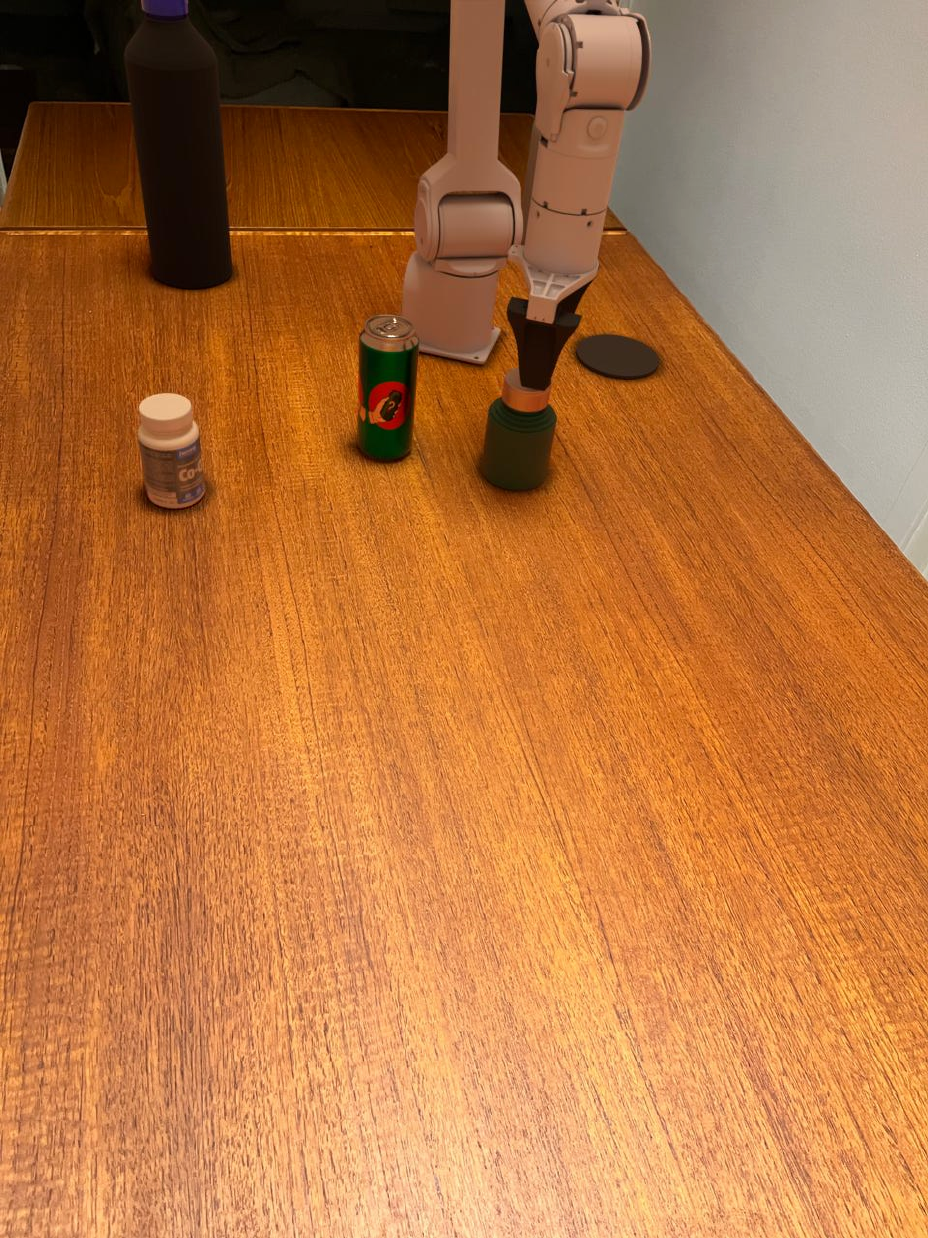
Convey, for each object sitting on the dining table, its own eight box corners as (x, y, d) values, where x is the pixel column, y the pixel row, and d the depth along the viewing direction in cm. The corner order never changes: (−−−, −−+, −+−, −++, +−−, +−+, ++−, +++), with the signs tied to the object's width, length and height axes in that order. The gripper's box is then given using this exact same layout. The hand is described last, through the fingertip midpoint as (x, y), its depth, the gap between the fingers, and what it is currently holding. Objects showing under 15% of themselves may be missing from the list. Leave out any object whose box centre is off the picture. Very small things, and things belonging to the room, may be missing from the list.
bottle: (248, 271, 112) (231, -13, 93) (194, 296, 106) (164, 0, 87) (191, 248, 115) (163, -32, 95) (135, 272, 109) (93, -21, 90)
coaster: (569, 368, 103) (569, 365, 102) (583, 330, 109) (583, 327, 109) (653, 386, 102) (654, 383, 101) (662, 347, 108) (663, 344, 108)
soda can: (423, 449, 89) (432, 329, 81) (383, 470, 86) (389, 347, 78) (385, 425, 92) (390, 306, 83) (345, 445, 89) (346, 323, 80)
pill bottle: (192, 514, 79) (181, 427, 74) (137, 503, 80) (122, 415, 74) (214, 482, 83) (205, 395, 77) (161, 471, 83) (149, 384, 77)
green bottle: (473, 481, 86) (484, 392, 80) (489, 446, 91) (501, 359, 85) (539, 497, 86) (555, 408, 80) (552, 460, 90) (568, 373, 84)
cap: (497, 406, 82) (499, 385, 81) (507, 383, 85) (510, 363, 83) (543, 416, 81) (546, 395, 80) (552, 393, 84) (555, 372, 83)
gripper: (535, 159, 78) (513, 317, 87) (496, 225, 68) (476, 397, 77) (622, 175, 77) (590, 333, 86) (595, 244, 67) (563, 415, 76)
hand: (542, 364), depth 82 cm, fingers open, 7 cm apart
